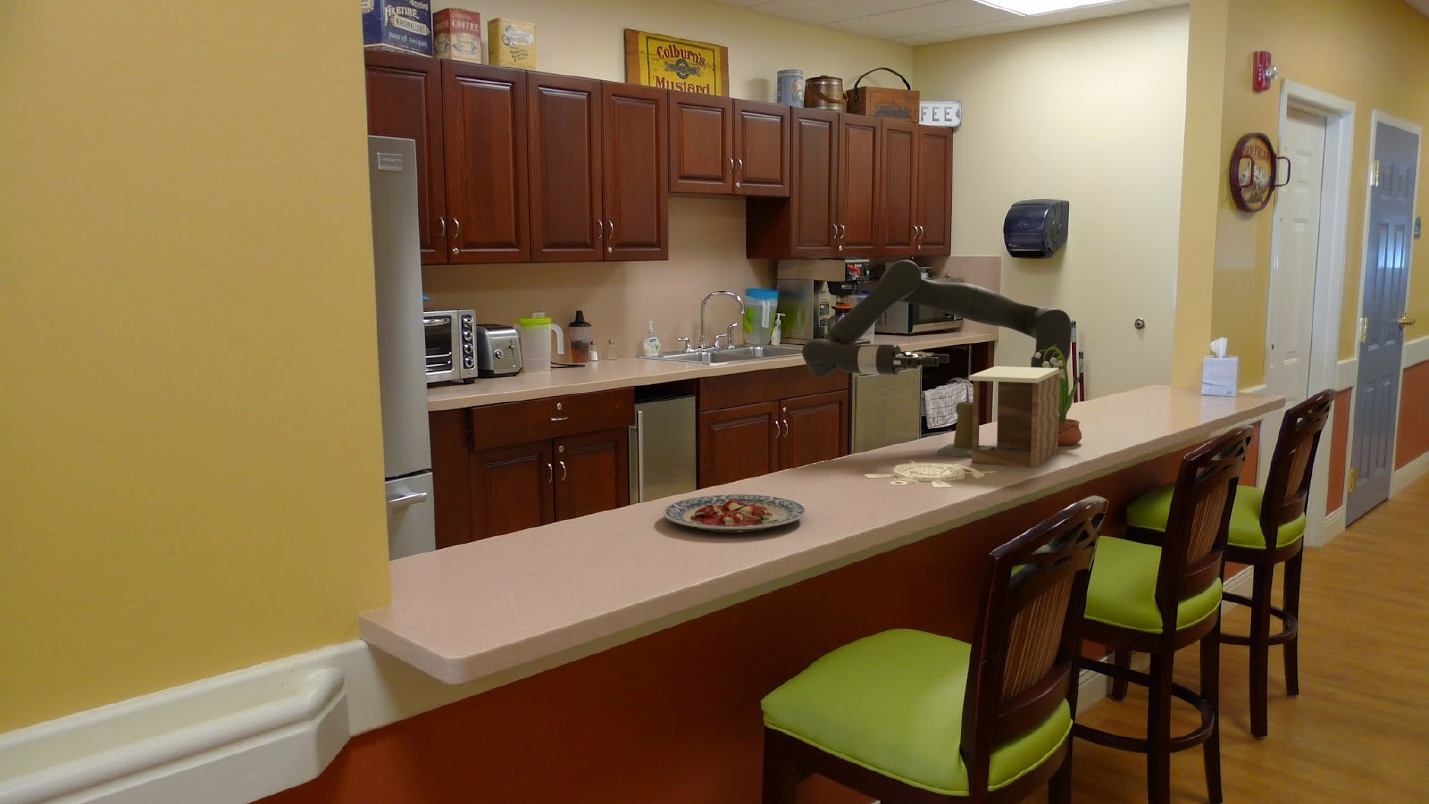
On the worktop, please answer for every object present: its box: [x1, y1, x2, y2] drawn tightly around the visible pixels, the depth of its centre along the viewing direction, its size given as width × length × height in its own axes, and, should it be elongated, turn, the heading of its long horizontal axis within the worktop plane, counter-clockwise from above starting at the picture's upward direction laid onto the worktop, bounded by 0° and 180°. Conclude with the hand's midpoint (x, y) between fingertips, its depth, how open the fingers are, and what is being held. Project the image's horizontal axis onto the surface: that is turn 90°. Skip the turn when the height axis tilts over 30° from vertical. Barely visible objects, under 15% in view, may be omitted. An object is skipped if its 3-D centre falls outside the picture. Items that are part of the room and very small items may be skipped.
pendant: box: [864, 460, 997, 489], centre depth 223 cm, size 21×28×1 cm
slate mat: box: [936, 443, 995, 458], centre depth 247 cm, size 11×11×1 cm
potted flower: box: [1033, 345, 1084, 446], centre depth 257 cm, size 12×10×25 cm
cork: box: [953, 400, 973, 449], centre depth 250 cm, size 6×6×11 cm
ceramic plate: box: [662, 493, 807, 533], centre depth 185 cm, size 26×26×3 cm
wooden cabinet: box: [968, 365, 1060, 468], centre depth 241 cm, size 24×15×20 cm, turn 151°
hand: (943, 360), depth 247 cm, fingers open, 8 cm apart
